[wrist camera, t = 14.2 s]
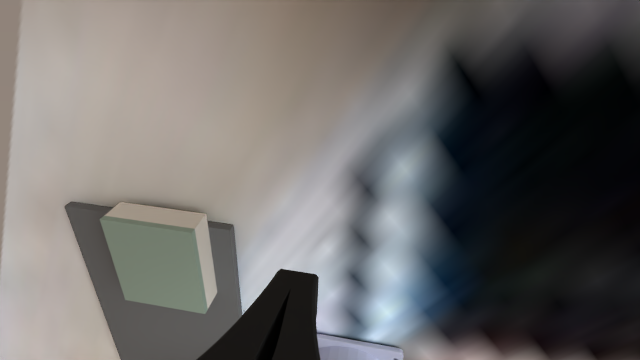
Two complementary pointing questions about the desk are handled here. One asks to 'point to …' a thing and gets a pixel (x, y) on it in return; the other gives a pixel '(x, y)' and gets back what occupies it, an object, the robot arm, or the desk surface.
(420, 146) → the desk surface
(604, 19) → the desk surface
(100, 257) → the mat
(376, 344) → the robot arm
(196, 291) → the tile
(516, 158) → the desk surface
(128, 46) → the desk surface
